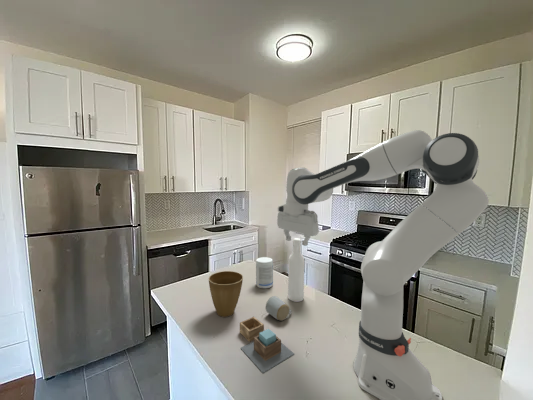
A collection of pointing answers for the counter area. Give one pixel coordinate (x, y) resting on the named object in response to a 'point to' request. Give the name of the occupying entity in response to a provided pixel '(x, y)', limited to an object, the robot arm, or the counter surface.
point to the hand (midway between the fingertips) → (296, 242)
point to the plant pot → (225, 291)
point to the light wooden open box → (251, 328)
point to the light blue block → (267, 337)
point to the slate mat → (269, 363)
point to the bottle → (296, 273)
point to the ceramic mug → (277, 308)
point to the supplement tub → (264, 272)
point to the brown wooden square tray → (267, 348)
